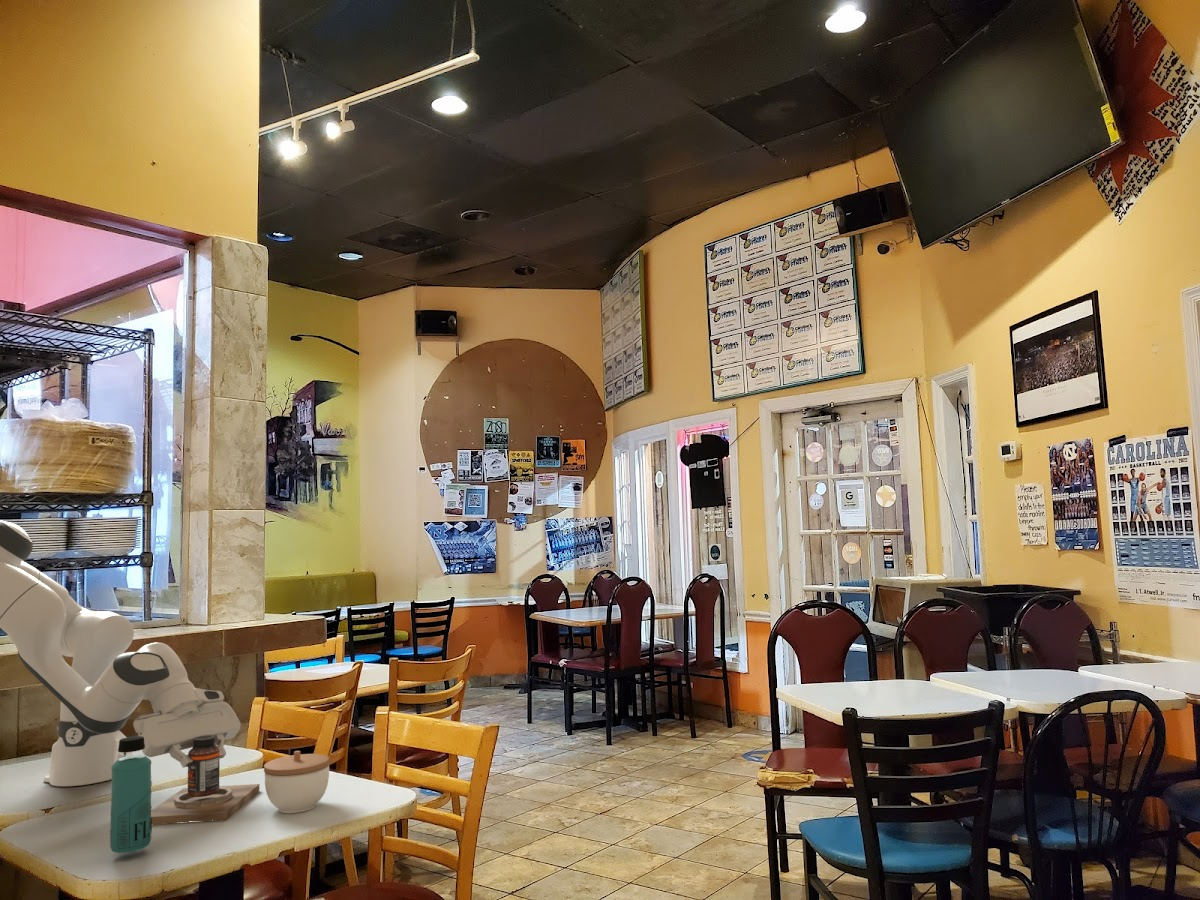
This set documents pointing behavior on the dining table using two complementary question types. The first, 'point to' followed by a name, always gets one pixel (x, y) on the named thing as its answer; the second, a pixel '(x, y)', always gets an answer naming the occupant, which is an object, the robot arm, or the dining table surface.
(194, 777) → the supplement bottle
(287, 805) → the lidded bowl
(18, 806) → the dining table surface
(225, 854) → the dining table surface
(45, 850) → the dining table surface
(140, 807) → the beverage bottle
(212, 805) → the walnut seat board
